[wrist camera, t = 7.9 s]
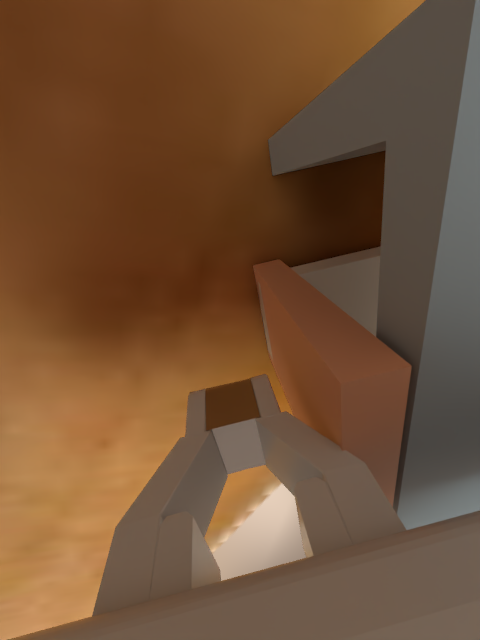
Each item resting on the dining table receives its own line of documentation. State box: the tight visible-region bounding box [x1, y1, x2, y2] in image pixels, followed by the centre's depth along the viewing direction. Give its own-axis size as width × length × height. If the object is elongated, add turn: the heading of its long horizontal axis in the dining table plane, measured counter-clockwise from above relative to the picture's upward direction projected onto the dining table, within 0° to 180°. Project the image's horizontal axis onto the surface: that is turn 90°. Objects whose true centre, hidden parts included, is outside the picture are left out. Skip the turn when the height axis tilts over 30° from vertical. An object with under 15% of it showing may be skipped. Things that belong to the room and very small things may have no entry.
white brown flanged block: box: [253, 246, 412, 507], centre depth 9 cm, size 8×12×8 cm, turn 101°
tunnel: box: [268, 0, 480, 530], centre depth 9 cm, size 14×7×8 cm, turn 11°
